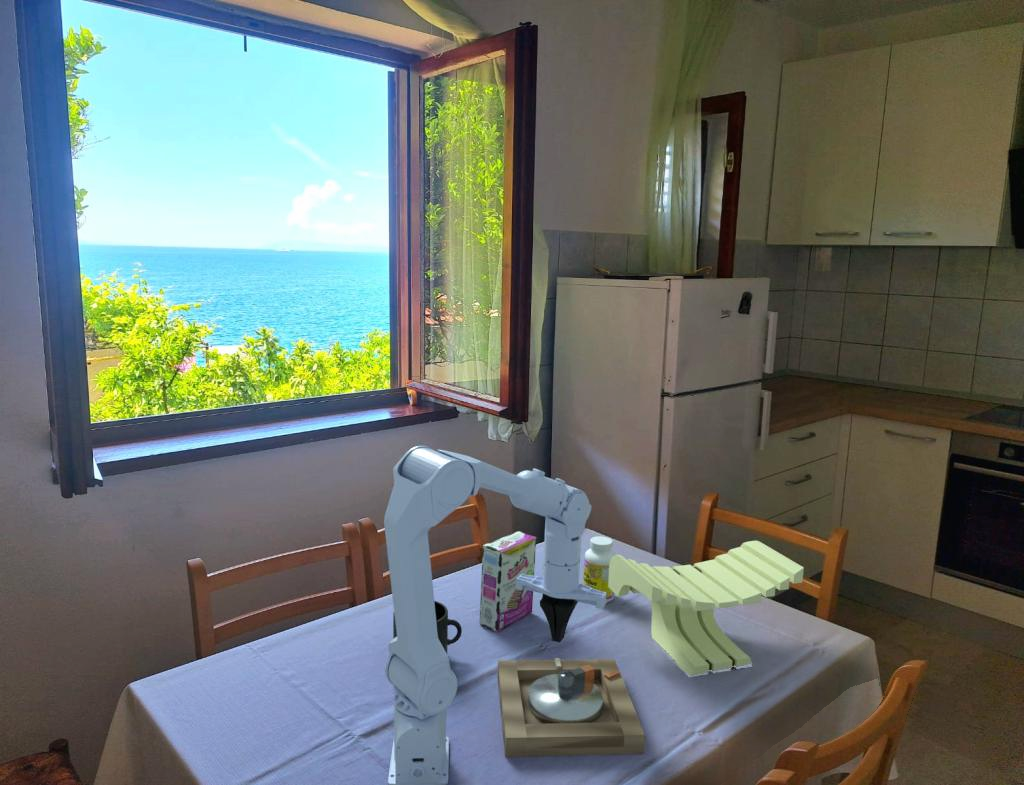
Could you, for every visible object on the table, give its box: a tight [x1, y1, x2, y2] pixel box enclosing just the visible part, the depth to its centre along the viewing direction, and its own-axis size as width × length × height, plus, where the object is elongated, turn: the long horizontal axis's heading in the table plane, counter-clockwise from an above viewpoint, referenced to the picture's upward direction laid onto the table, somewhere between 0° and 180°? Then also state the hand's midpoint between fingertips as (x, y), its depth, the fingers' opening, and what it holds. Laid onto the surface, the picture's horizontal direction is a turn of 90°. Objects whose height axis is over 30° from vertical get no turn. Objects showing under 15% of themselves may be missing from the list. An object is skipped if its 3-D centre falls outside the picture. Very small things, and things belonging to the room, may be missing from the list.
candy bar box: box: [479, 530, 537, 633], centre depth 139 cm, size 11×5×16 cm, turn 141°
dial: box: [528, 664, 603, 724], centre depth 111 cm, size 12×12×5 cm
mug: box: [392, 600, 463, 655], centre depth 124 cm, size 9×12×9 cm
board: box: [496, 657, 646, 758], centre depth 111 cm, size 20×20×4 cm
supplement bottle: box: [582, 536, 617, 604], centre depth 149 cm, size 7×7×13 cm
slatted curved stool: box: [608, 540, 805, 676], centre depth 130 cm, size 30×16×18 cm, turn 108°
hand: (558, 639), depth 114 cm, fingers closed
